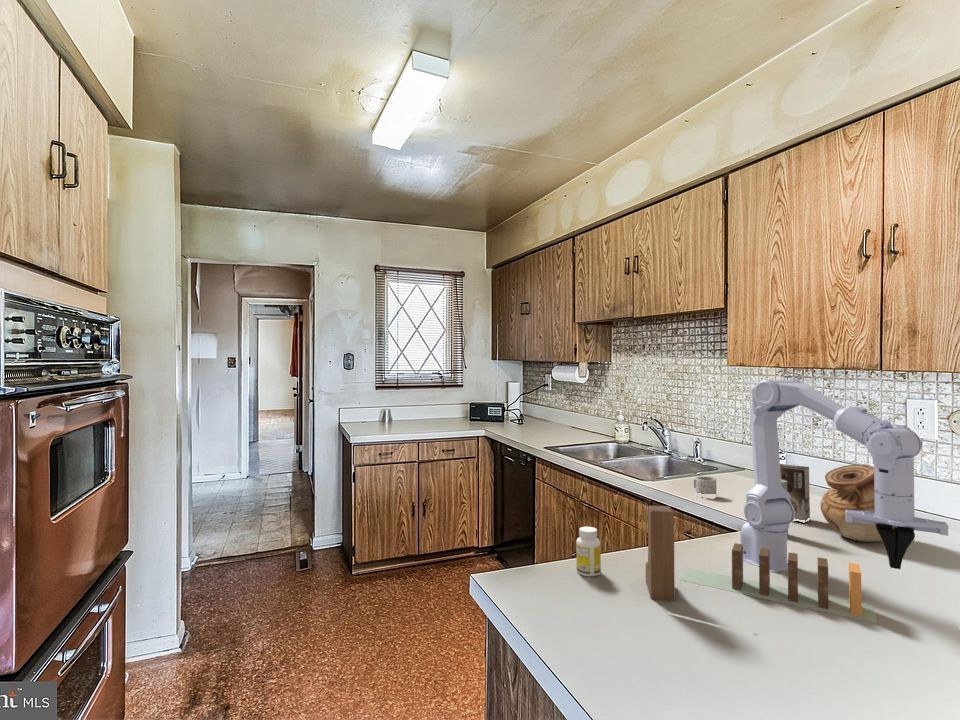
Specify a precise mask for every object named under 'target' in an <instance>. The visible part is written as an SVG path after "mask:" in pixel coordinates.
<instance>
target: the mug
mask: <svg viewBox="0 0 960 720" xmlns="http://www.w3.org/2000/svg"><path fill="white" fill-rule="evenodd" d="M692 482H693V483H692V485H693V489H694V488H695V489H696V491H695V493H696V492H697V493H701V494H716V495H717V478H716V477H711V476H703V475H702V476H700V475H699V476H696V477H694V478H693V481H692Z"/></svg>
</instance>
